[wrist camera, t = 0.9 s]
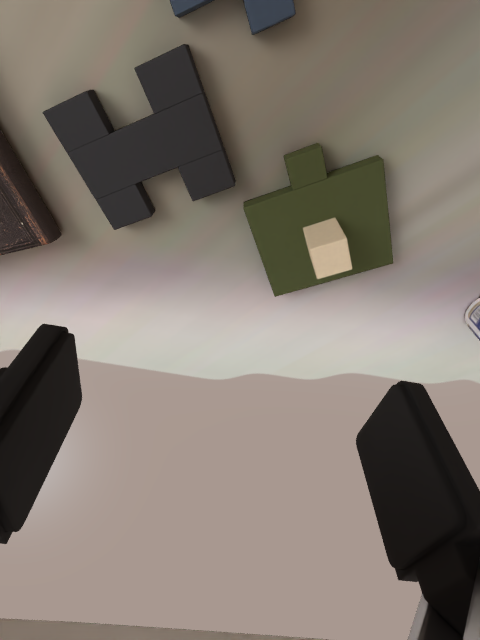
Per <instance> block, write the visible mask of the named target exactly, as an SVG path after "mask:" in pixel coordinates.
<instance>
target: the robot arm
mask: <svg viewBox="0 0 480 640" xmlns="http://www.w3.org/2000/svg"><path fill="white" fill-rule="evenodd" d="M81 401H82V392H81V385H80V376H79V369H78V361H77V353H76V345H75V338H74V335H73V334H71V333H68V329H67V328H66V327H61V326H55V325H48V324H42V325H41V326H40V327H39V328H38V329H37V331H36V332H35V333H34V334H33V336H32V337H31V338H30V340H29V341H28V342H27V344H26V345H25V346H24V347H23V349H22V350H21V351H20V353H19V354H18V355H17V357H16V358H15V359H14V360H13V362H12V363H11V364H10V366H9V367H8V368H1V369H0V543H2V544H7V542H8V540H9V538H10V536H11V534H12V532H17V531H19V530H20V529H21V527H22V526H23V524H24V522H25V520H26V518H27V516H28V514H29V512H30V510H31V508H32V506H33V504H34V502H35V499H36V497H37V495H38V493H39V491H40V489H41V487H42V485H43V483H44V481H45V479H46V477H47V475H48V472H49V470H50V468H51V466H52V464H53V462H54V460H55V458H56V455H57V454H58V452H59V450H60V447H61V445H62V443H63V441H64V439H65V437H66V435H67V433H68V431H69V429H70V427H71V424H72V422H73V420H74V418H75V416H76V414H77V412H78V409H79V408H80V405H81ZM356 445H357V449H358V453H359V456H360V460H361V463H362V467H363V470H364V474H365V478H366V481H367V485H368V489H369V492H370V496H371V499H372V503H373V507H374V510H375V514H376V517H377V521H378V525H379V528H380V532H381V535H382V539H383V543H384V546H385V550H386V553H387V556H388V560H389V562H390V564H391V566H392V567H394V568H395V570H396V573H397V577H398V580H402V581H413V582H417V581H419V584H420V587H421V590H422V596H421V599H420V602H419V605H418V608H417V611H416V614H415V617H414V621H413V624H412V627H411V630H410V634H409V636H408V639H407V640H480V491H479V489H478V487H477V485H476V483H475V481H474V479H473V478H472V476H471V474H470V472H469V470H468V468H467V467H466V465H465V463H464V461H463V459H462V457H461V455H460V453H459V451H458V449H457V448H456V446H455V444H454V442H453V440H452V438H451V436H450V434H449V433H448V431H447V429H446V427H445V425H444V423H443V421H442V420H441V418H440V416H439V414H438V412H437V410H436V408H435V406H434V405H433V403H432V401H431V399H430V397H429V395H428V393H427V391H426V390H425V388H424V386H423V385H421V384H419V383H412V382H406V381H400V382H398V383H397V384H396V385H393V386H392V387H391V388H390V389H389V391H388V392H387V394H386V395H385V396H384V398H383V399H382V401H381V402H380V403H379V405H378V406H377V408H376V409H375V410H374V412H373V413H372V415H371V416H370V418H369V419H368V420H367V422H366V423H365V425H364V426H363V427H362V429H361V430H360V432H359V433H358V435H357V438H356ZM0 640H327V639H314V638H300V637H284V636H272V635H257V634H243V633H228V632H214V631H201V630H186V629H170V628H156V627H140V626H126V625H111V624H96V623H81V622H80V623H79V622H63V621H42V620H21V619H0Z"/></svg>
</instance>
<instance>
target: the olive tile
mask: <svg viewBox="0 0 480 640" xmlns="http://www.w3.org/2000/svg"><path fill="white" fill-rule="evenodd" d="M284 160H285V164H286V168H287V171H288V175H289V179H290V183H291V186H289V187H286V188H283V189H280V190H277V191H275V192H272V193H269V194H266V195H263V196H260V197H258V198H255V199H252V200H249V201H246V202H244V211H245V214H246V217H247V220H248V222H249V225H250V228H251V231H252V234H253V236H254V239H255V242H256V245H257V248H258V251H259V253H260V256H261V259H262V262H263V265H264V267H265V270H266V273H267V276H268V279H269V282H270V284H271V287H272V290H273V293H274V296H275V297H276V296H279V295H283V294H286V293H290V292H293V291H297V290H300V289H304V288H307V287H311V286H314V285H318V284H322V283H325V282H329V281H332V280H336V279H339V278H343V277H346V276H350V275H353V274H357V273H360V272H364V271H367V270H371V269H374V268H378V267H381V266H385V265H389V264H392V263H393V255H392V245H391V235H390V224H389V214H388V204H387V193H386V183H385V173H384V162H383V159H382V158H381V157H379V156H378V155H376V156H374V157H371V158H368V159H365V160H362V161H359V162H357V163H354V164H351V165H348V166H345V167H342V168H340V169H337V170H334V171H331V172H328V173H327V172H326V167H325V162H324V157H323V151H322V147H321V145H320V144H319V143H316V144H313V145H311V146H308V147H305V148H303V149H300V150H297V151H295V152H292V153H289V154H287V155H284Z"/></svg>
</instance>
